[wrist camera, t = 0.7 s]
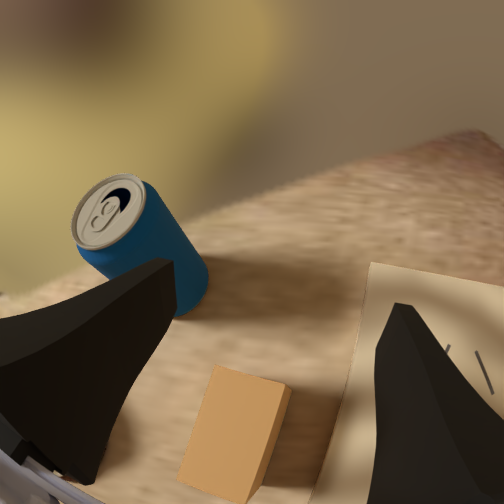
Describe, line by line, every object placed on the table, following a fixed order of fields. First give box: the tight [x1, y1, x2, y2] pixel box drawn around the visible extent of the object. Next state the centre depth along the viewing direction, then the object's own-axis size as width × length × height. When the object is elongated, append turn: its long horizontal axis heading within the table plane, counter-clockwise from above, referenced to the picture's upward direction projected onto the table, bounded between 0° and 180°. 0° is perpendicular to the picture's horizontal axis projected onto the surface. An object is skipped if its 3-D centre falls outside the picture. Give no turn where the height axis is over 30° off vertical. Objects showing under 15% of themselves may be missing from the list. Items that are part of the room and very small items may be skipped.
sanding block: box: [176, 365, 292, 504], centre depth 19 cm, size 8×4×6 cm, turn 162°
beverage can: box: [71, 173, 208, 317], centre depth 23 cm, size 6×6×12 cm
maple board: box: [308, 262, 504, 504], centre depth 18 cm, size 22×16×2 cm
